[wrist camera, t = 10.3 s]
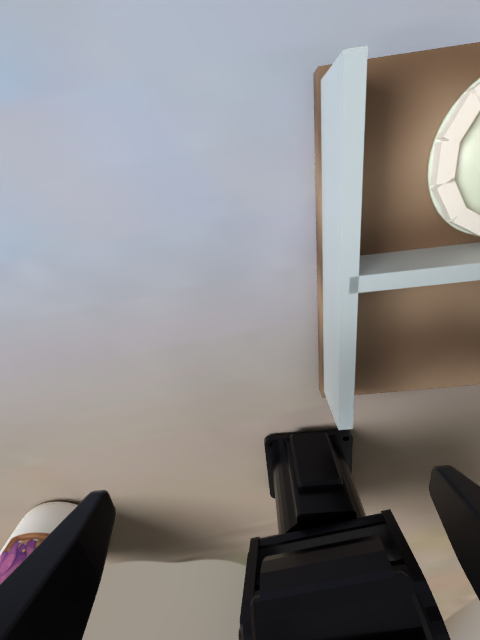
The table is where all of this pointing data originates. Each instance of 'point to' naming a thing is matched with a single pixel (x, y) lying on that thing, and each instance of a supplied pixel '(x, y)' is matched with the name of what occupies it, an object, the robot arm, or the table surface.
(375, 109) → the board
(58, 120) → the table surface
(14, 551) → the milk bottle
